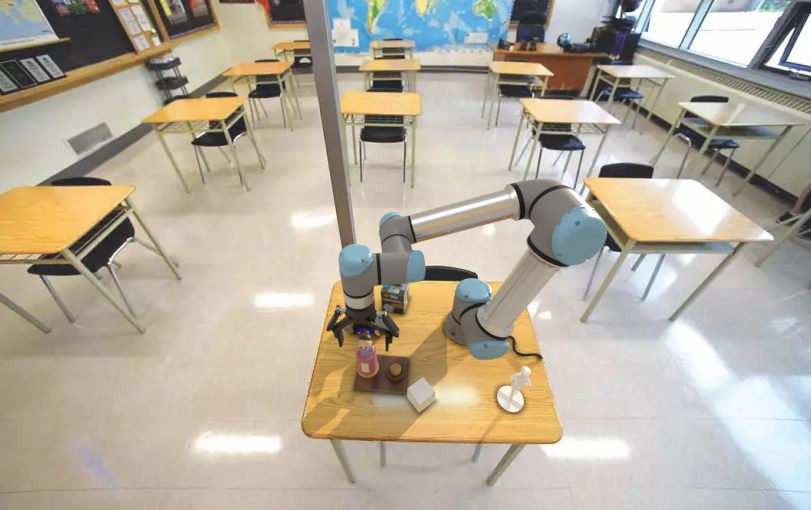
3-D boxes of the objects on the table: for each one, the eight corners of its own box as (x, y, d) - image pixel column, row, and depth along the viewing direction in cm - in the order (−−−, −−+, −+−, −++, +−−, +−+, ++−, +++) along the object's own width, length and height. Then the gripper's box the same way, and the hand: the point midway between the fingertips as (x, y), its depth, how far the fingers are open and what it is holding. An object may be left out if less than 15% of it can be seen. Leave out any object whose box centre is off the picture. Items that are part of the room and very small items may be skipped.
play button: (401, 366, 103) (401, 363, 102) (400, 377, 101) (400, 374, 99) (390, 365, 103) (390, 362, 102) (389, 376, 101) (389, 373, 100)
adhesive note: (407, 397, 99) (407, 388, 95) (421, 385, 102) (422, 376, 98) (419, 413, 96) (420, 404, 92) (434, 400, 98) (435, 392, 94)
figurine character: (346, 339, 116) (386, 341, 113) (341, 327, 111) (383, 328, 108) (350, 324, 121) (389, 325, 118) (346, 311, 116) (386, 312, 113)
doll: (359, 356, 105) (354, 326, 94) (380, 358, 104) (378, 328, 93) (355, 376, 100) (349, 347, 88) (377, 378, 99) (374, 349, 88)
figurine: (522, 389, 101) (539, 360, 89) (523, 415, 96) (542, 387, 84) (497, 384, 103) (510, 354, 91) (496, 408, 97) (511, 380, 85)
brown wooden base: (407, 360, 108) (408, 354, 106) (404, 395, 99) (404, 390, 97) (361, 355, 109) (360, 350, 107) (354, 390, 100) (353, 385, 98)
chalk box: (409, 297, 129) (410, 271, 119) (404, 315, 122) (404, 289, 112) (387, 293, 131) (386, 267, 121) (381, 310, 124) (379, 284, 114)
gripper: (410, 291, 81) (407, 338, 95) (315, 283, 82) (326, 330, 97) (408, 315, 76) (405, 361, 90) (305, 305, 77) (319, 352, 91)
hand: (364, 345), depth 93 cm, fingers open, 13 cm apart
